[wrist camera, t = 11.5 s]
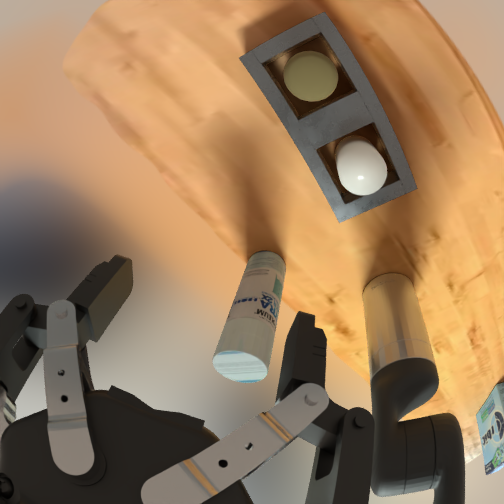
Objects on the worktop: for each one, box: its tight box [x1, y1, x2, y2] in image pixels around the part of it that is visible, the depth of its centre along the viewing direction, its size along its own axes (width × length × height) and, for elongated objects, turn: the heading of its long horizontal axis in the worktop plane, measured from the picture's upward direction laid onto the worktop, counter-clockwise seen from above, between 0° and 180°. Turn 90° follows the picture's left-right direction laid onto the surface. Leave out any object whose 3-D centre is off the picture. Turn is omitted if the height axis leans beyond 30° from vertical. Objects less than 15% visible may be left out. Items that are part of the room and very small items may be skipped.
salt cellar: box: [335, 135, 387, 195], centre depth 34 cm, size 6×6×7 cm
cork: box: [283, 51, 338, 102], centre depth 28 cm, size 6×6×11 cm
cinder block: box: [239, 12, 417, 223], centre depth 33 cm, size 24×11×4 cm, turn 33°
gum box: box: [476, 382, 504, 475], centre depth 52 cm, size 20×5×23 cm, turn 14°
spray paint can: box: [213, 251, 286, 383], centre depth 41 cm, size 6×6×20 cm
